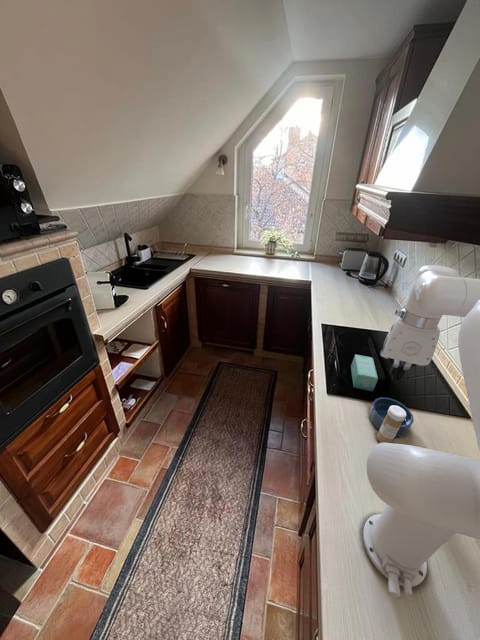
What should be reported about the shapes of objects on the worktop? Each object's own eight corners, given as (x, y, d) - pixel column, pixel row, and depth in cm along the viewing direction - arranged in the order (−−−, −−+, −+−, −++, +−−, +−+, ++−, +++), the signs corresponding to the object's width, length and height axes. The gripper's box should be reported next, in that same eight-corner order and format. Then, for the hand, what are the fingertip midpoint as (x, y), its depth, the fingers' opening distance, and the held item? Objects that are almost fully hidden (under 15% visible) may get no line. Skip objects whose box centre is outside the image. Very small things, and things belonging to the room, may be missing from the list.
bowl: (409, 443, 81) (415, 433, 78) (367, 427, 85) (372, 417, 83) (406, 415, 90) (411, 405, 88) (369, 402, 95) (373, 393, 92)
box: (353, 388, 101) (358, 374, 97) (350, 367, 112) (354, 353, 108) (373, 392, 99) (379, 378, 95) (367, 370, 110) (372, 357, 107)
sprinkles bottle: (378, 430, 84) (392, 402, 77) (393, 439, 81) (408, 410, 75) (374, 439, 81) (387, 410, 74) (389, 448, 78) (404, 420, 72)
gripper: (386, 318, 60) (365, 378, 68) (462, 332, 55) (429, 395, 64) (383, 306, 66) (364, 362, 75) (452, 318, 61) (423, 376, 70)
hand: (394, 377), depth 69 cm, fingers closed
